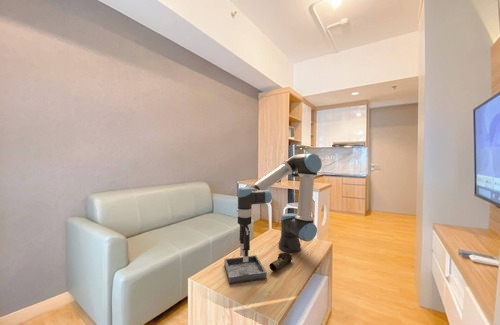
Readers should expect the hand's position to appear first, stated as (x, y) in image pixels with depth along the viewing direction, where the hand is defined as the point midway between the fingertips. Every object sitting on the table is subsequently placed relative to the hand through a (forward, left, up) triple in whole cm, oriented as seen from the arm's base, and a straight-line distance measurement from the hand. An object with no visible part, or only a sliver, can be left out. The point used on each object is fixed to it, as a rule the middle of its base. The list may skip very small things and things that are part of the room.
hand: (244, 258), depth 108 cm
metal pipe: (-17, +3, -10) cm, 20 cm away
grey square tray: (0, 0, -7) cm, 7 cm away
